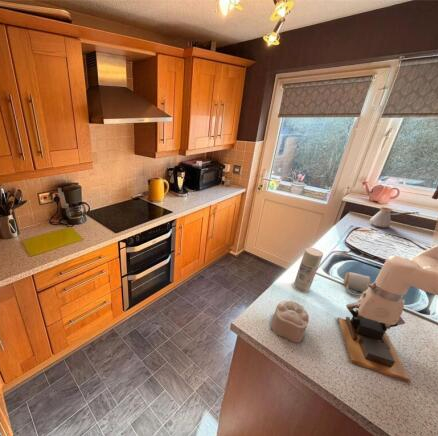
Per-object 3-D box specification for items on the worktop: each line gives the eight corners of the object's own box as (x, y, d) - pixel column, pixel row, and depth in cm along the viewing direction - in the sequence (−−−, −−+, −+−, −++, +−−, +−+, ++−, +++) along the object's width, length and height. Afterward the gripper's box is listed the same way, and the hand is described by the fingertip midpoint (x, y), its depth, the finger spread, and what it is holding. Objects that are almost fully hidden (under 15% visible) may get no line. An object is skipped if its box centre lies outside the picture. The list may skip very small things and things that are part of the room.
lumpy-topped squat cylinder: (269, 330, 86) (274, 313, 83) (275, 308, 96) (280, 292, 92) (301, 345, 81) (309, 328, 77) (304, 320, 91) (311, 304, 87)
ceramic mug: (341, 280, 112) (347, 267, 109) (363, 287, 108) (370, 274, 105) (342, 292, 105) (348, 279, 101) (366, 300, 100) (373, 287, 97)
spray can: (312, 289, 107) (326, 253, 98) (304, 294, 104) (318, 257, 95) (297, 281, 112) (309, 246, 103) (290, 286, 109) (302, 250, 100)
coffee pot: (367, 225, 168) (375, 206, 161) (369, 220, 175) (377, 202, 169) (409, 235, 154) (420, 215, 147) (409, 230, 161) (420, 210, 154)
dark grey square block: (373, 326, 86) (377, 318, 84) (379, 340, 80) (384, 332, 79) (351, 320, 88) (355, 312, 86) (356, 333, 83) (360, 325, 81)
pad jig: (383, 333, 86) (388, 325, 84) (408, 381, 70) (415, 373, 68) (337, 319, 91) (341, 311, 89) (351, 362, 76) (355, 353, 74)
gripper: (358, 290, 77) (339, 328, 84) (429, 308, 70) (402, 347, 78) (351, 277, 83) (334, 313, 90) (416, 292, 76) (392, 330, 84)
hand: (365, 328), depth 84 cm, fingers closed on dark grey square block, 6 cm apart
